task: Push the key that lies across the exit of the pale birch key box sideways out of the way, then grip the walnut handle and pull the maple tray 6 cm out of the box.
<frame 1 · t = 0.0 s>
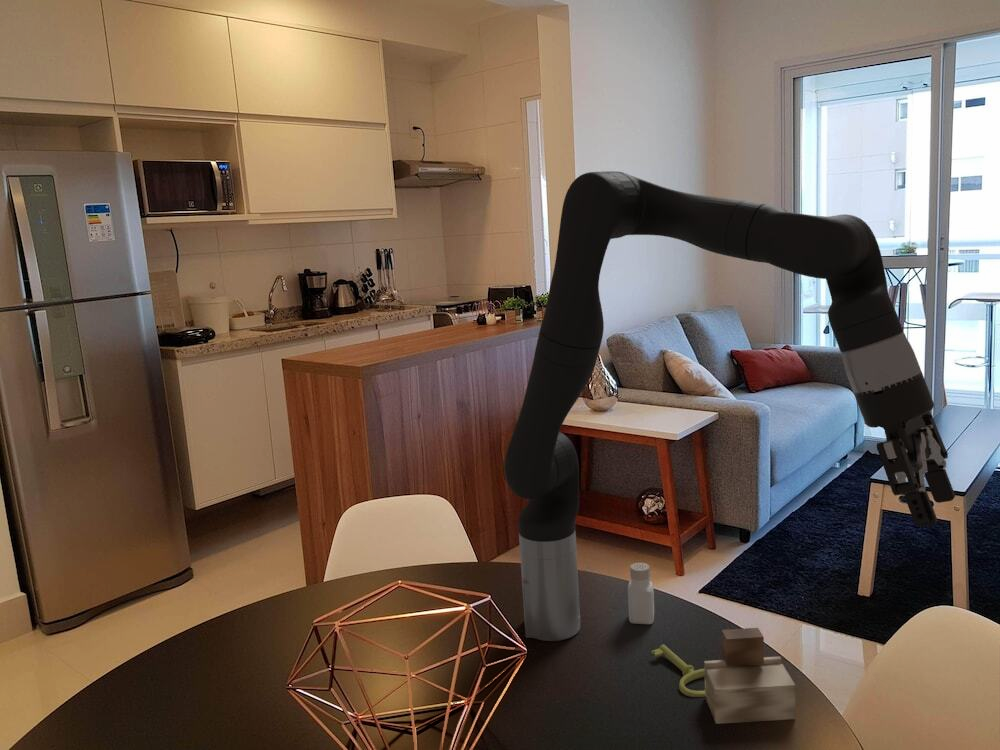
hand: (936, 512, 93), 31 cm above the table, fingers open, 8 cm apart
key: (688, 678, 120), on the table
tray: (745, 669, 111), point 5 cm above the table, slide at 0.0 cm
salt shaker: (641, 620, 137), on the table
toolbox: (749, 709, 111), on the table
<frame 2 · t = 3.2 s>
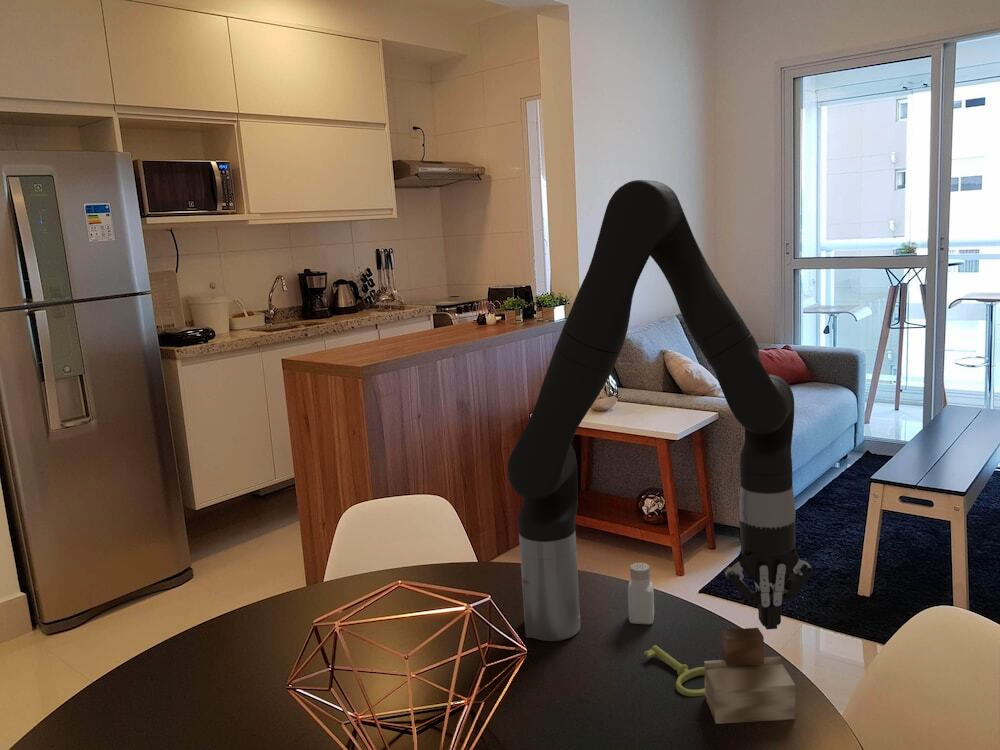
hand: (769, 626, 120), 6 cm above the table, fingers closed
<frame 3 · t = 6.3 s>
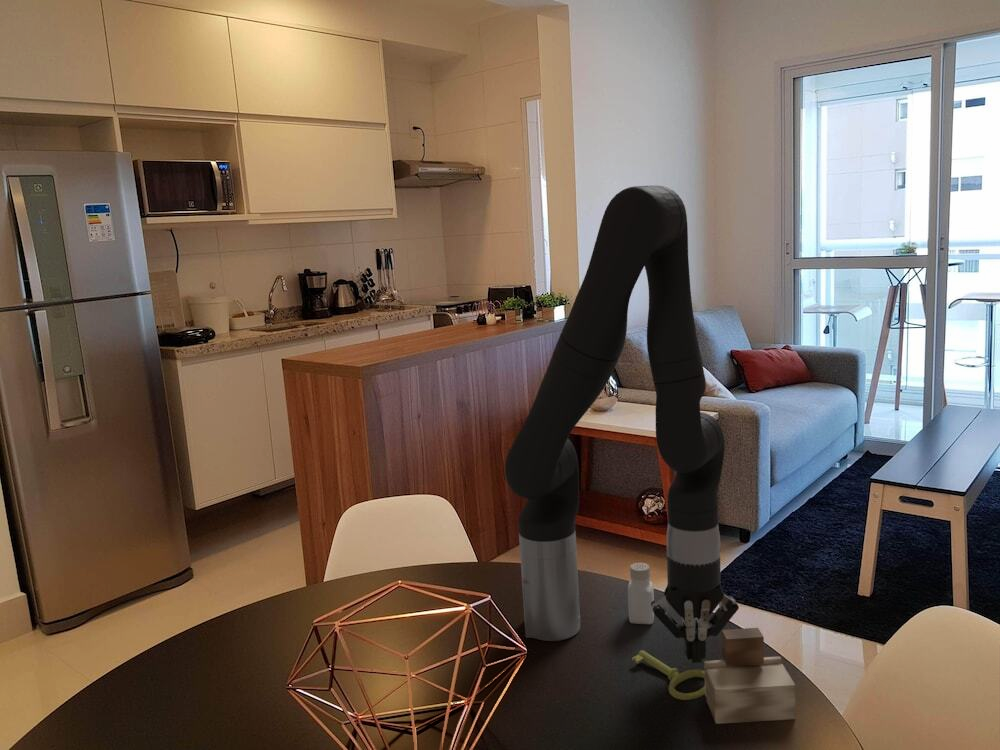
hand: (695, 660, 121), 1 cm above the table, fingers closed
key: (673, 682, 120), on the table
everything else where it was.
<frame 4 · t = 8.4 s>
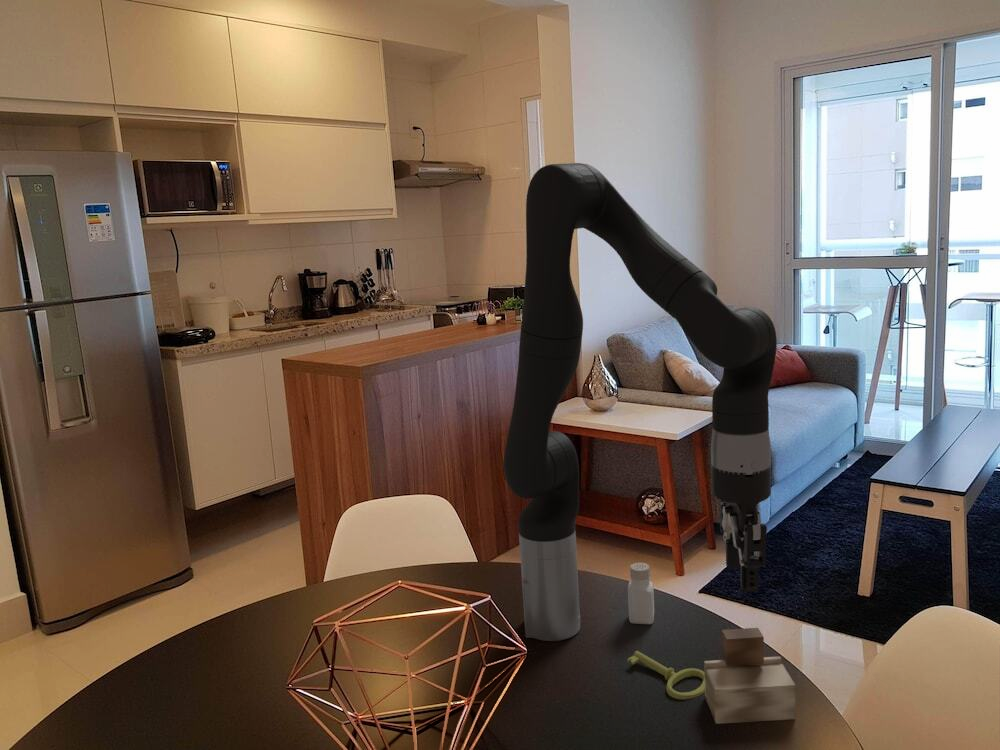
hand: (741, 578, 110), 18 cm above the table, fingers open, 6 cm apart
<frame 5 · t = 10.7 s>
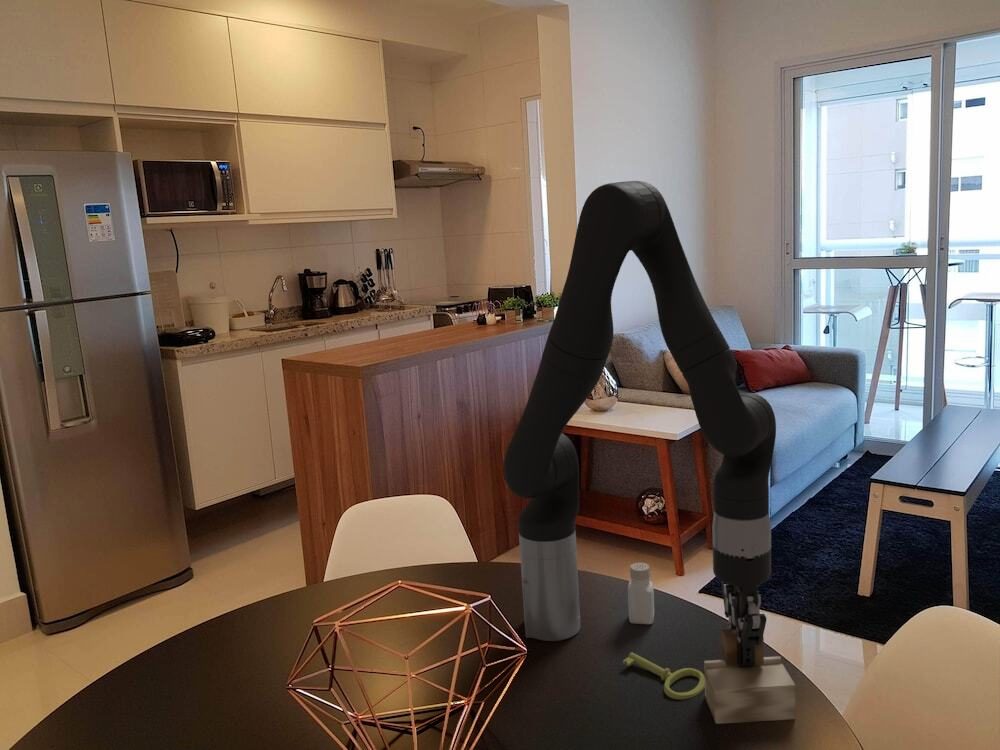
hand: (742, 659, 113), 6 cm above the table, fingers closed on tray, 2 cm apart
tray: (745, 669, 111), point 5 cm above the table, slide at 0.0 cm, touching gripper
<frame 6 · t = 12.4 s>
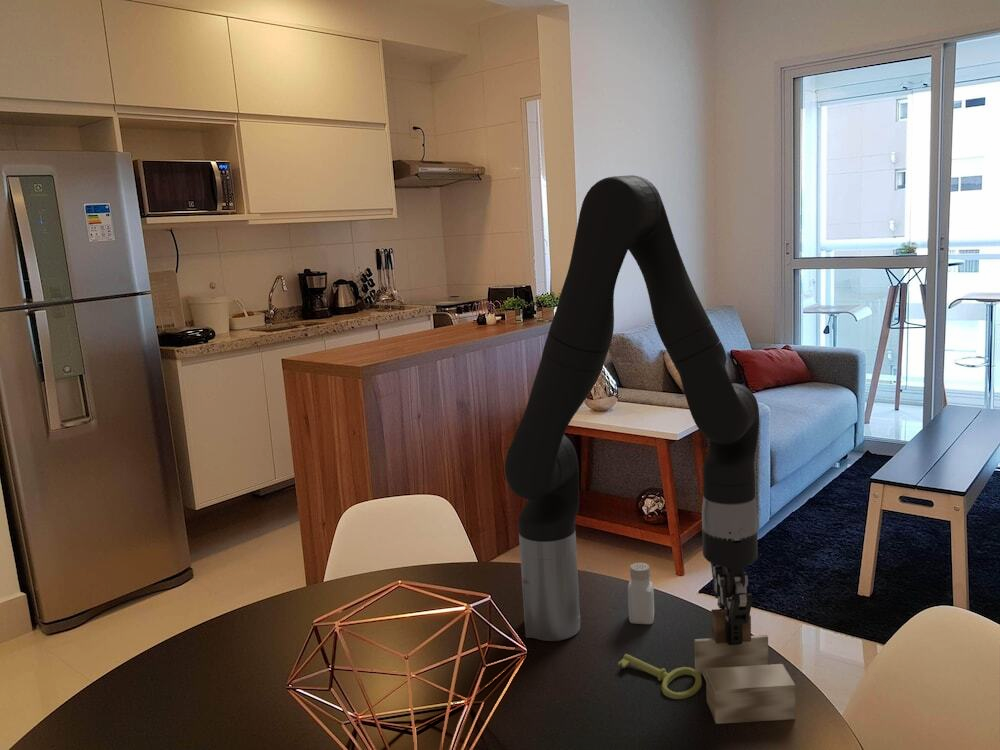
hand: (731, 637, 118), 6 cm above the table, fingers closed on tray, 2 cm apart
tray: (734, 647, 117), point 5 cm above the table, slide at 5.8 cm, touching gripper
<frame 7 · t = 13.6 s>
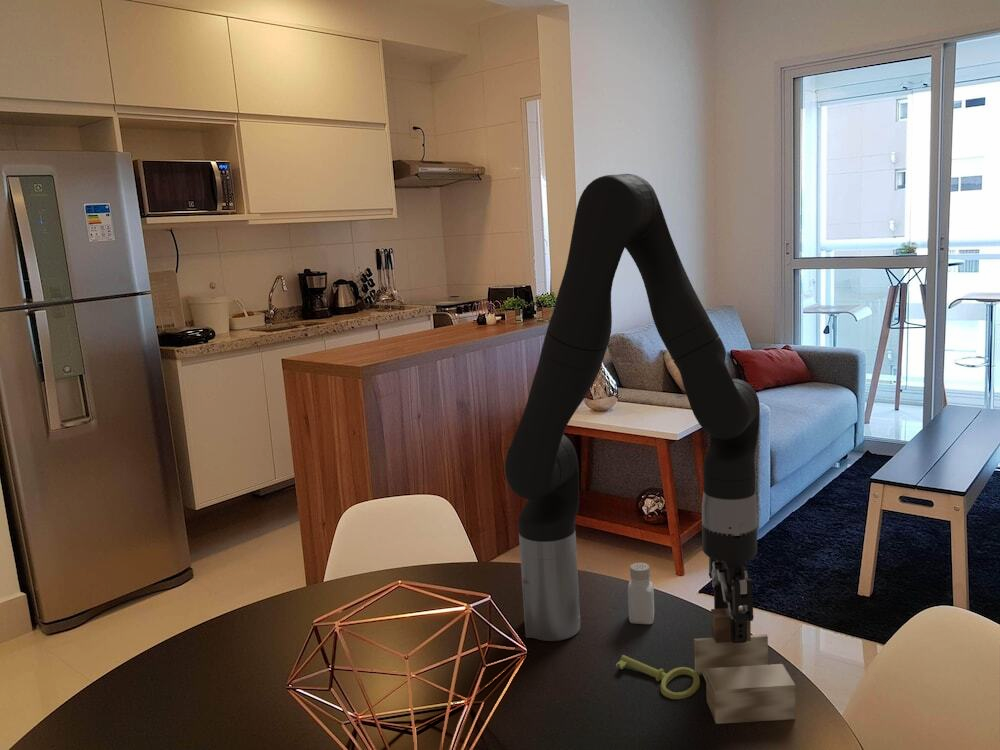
hand: (730, 626, 118), 7 cm above the table, fingers open, 8 cm apart
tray: (733, 646, 117), point 5 cm above the table, slide at 6.0 cm
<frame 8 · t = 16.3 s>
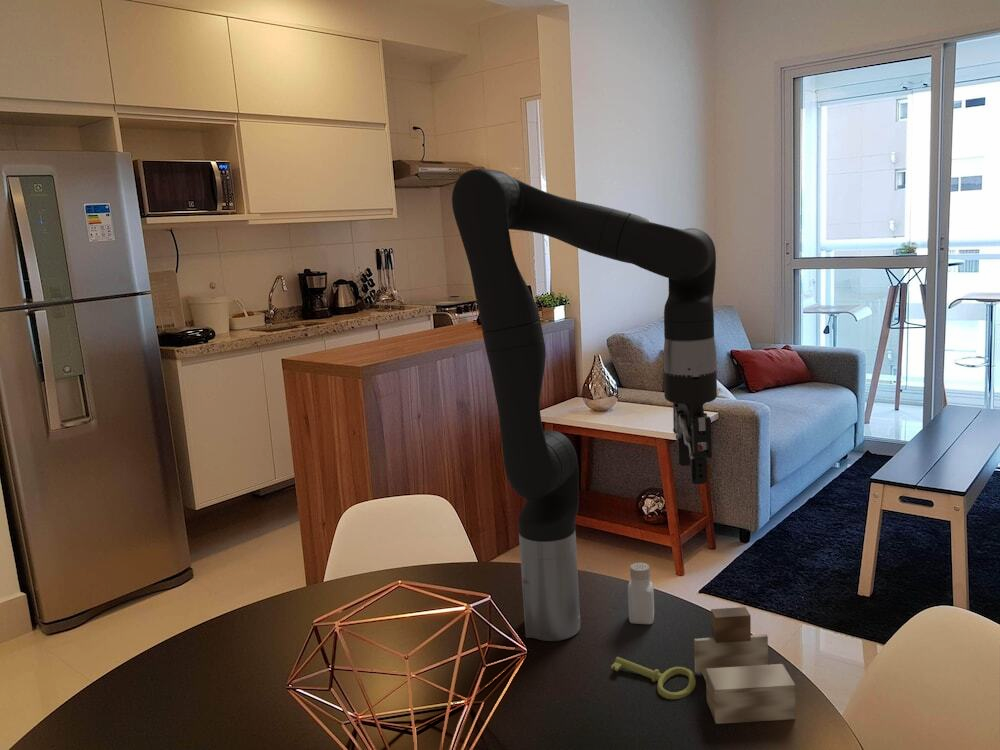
hand: (692, 473, 122), 28 cm above the table, fingers open, 8 cm apart
at the end: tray slide at 6.0 cm; key moved 5.1 cm from its start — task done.
